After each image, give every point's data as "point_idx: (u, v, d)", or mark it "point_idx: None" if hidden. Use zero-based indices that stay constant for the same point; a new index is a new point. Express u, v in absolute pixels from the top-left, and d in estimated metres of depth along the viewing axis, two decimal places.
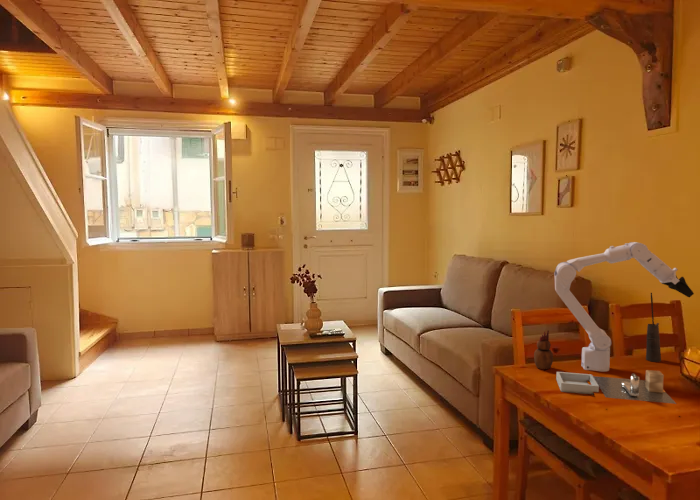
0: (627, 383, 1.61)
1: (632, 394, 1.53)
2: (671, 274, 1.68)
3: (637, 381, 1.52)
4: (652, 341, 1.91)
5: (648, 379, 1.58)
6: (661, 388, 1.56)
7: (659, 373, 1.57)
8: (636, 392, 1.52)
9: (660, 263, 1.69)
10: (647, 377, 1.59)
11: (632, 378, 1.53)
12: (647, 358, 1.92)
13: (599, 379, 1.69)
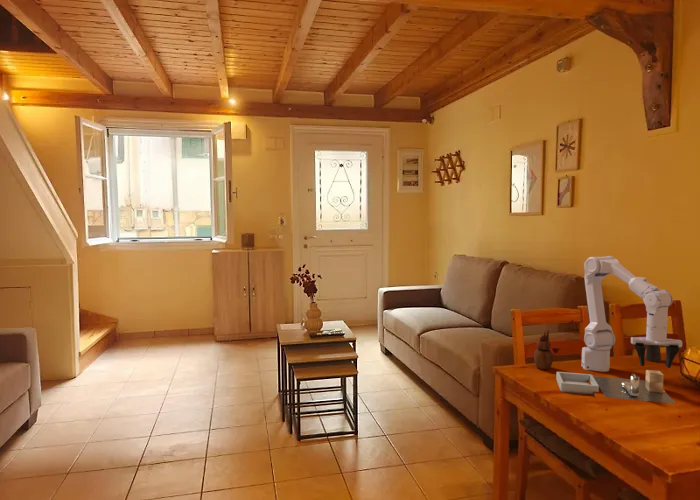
0: (627, 383, 1.61)
1: (632, 394, 1.53)
2: (648, 339, 1.57)
3: (637, 381, 1.52)
4: None
5: (648, 379, 1.58)
6: (661, 388, 1.56)
7: (659, 373, 1.57)
8: (636, 392, 1.52)
9: (655, 325, 1.55)
10: (647, 377, 1.59)
11: (632, 378, 1.53)
12: (647, 358, 1.92)
13: (599, 379, 1.69)
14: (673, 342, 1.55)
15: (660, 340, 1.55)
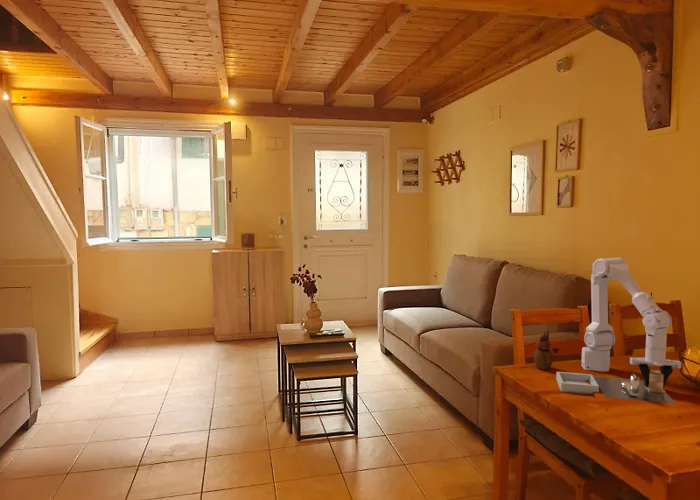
0: (627, 383, 1.61)
1: (632, 394, 1.53)
2: (647, 360, 1.58)
3: (637, 381, 1.52)
4: None
5: None
6: (661, 388, 1.56)
7: (659, 373, 1.57)
8: (636, 392, 1.52)
9: (655, 346, 1.55)
10: None
11: (632, 378, 1.53)
12: None
13: (599, 379, 1.69)
14: (672, 363, 1.55)
15: (659, 361, 1.55)
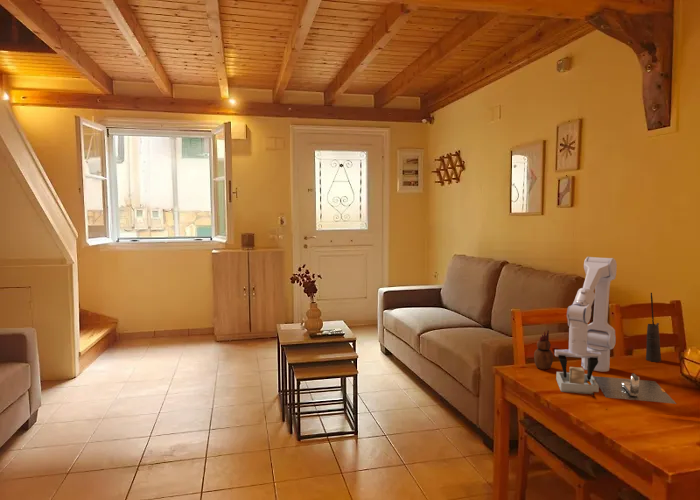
0: (627, 383, 1.61)
1: (632, 394, 1.53)
2: (569, 352, 1.63)
3: (637, 381, 1.52)
4: (652, 341, 1.91)
5: (571, 375, 1.64)
6: None
7: (581, 370, 1.63)
8: (636, 392, 1.52)
9: (569, 336, 1.64)
10: (570, 374, 1.65)
11: (632, 378, 1.53)
12: (647, 358, 1.92)
13: (599, 379, 1.69)
14: (592, 355, 1.61)
15: (580, 353, 1.61)
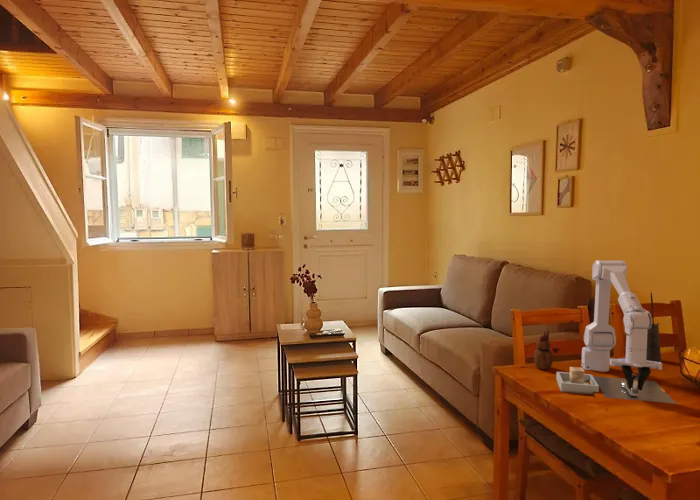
0: None
1: (632, 394, 1.53)
2: (627, 361, 1.52)
3: (637, 381, 1.52)
4: (652, 341, 1.91)
5: (571, 375, 1.64)
6: None
7: (581, 370, 1.63)
8: (636, 392, 1.52)
9: (631, 346, 1.51)
10: (570, 374, 1.65)
11: (632, 378, 1.53)
12: (647, 358, 1.92)
13: (599, 379, 1.69)
14: (653, 364, 1.50)
15: (639, 362, 1.50)
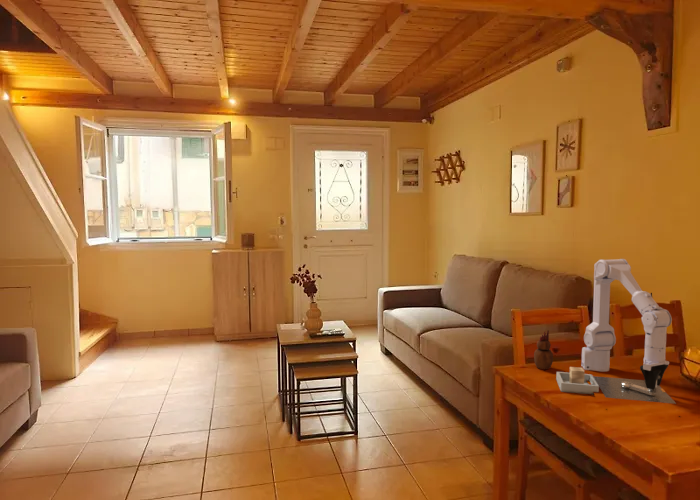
0: (627, 383, 1.61)
1: (652, 393, 1.54)
2: (655, 361, 1.52)
3: None
4: None
5: (571, 375, 1.64)
6: None
7: (581, 370, 1.63)
8: (656, 390, 1.53)
9: (652, 345, 1.52)
10: (570, 374, 1.65)
11: None
12: None
13: (599, 379, 1.69)
14: None
15: (664, 360, 1.52)
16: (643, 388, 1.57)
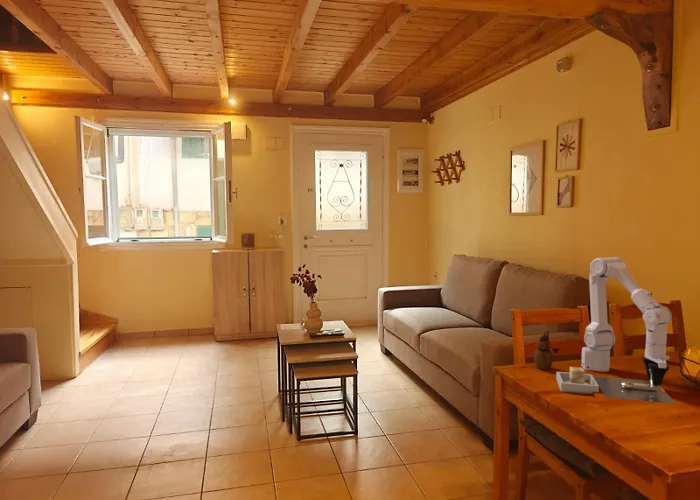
0: (627, 383, 1.61)
1: None
2: (662, 358, 1.55)
3: None
4: None
5: (571, 375, 1.64)
6: None
7: (581, 370, 1.63)
8: None
9: (655, 342, 1.55)
10: (570, 374, 1.65)
11: None
12: None
13: (599, 379, 1.69)
14: None
15: None
16: (645, 385, 1.59)
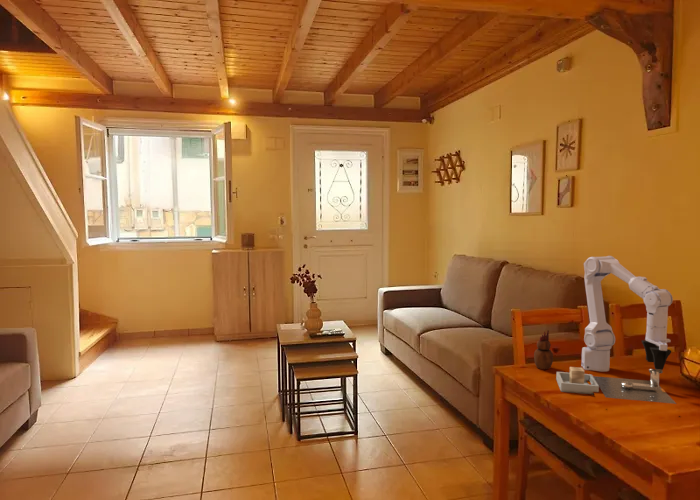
0: (627, 383, 1.61)
1: None
2: (662, 341, 1.55)
3: None
4: None
5: (571, 375, 1.64)
6: None
7: (581, 370, 1.63)
8: None
9: (655, 325, 1.55)
10: (570, 374, 1.65)
11: (658, 373, 1.57)
12: None
13: (599, 379, 1.69)
14: None
15: None
16: (645, 385, 1.59)
